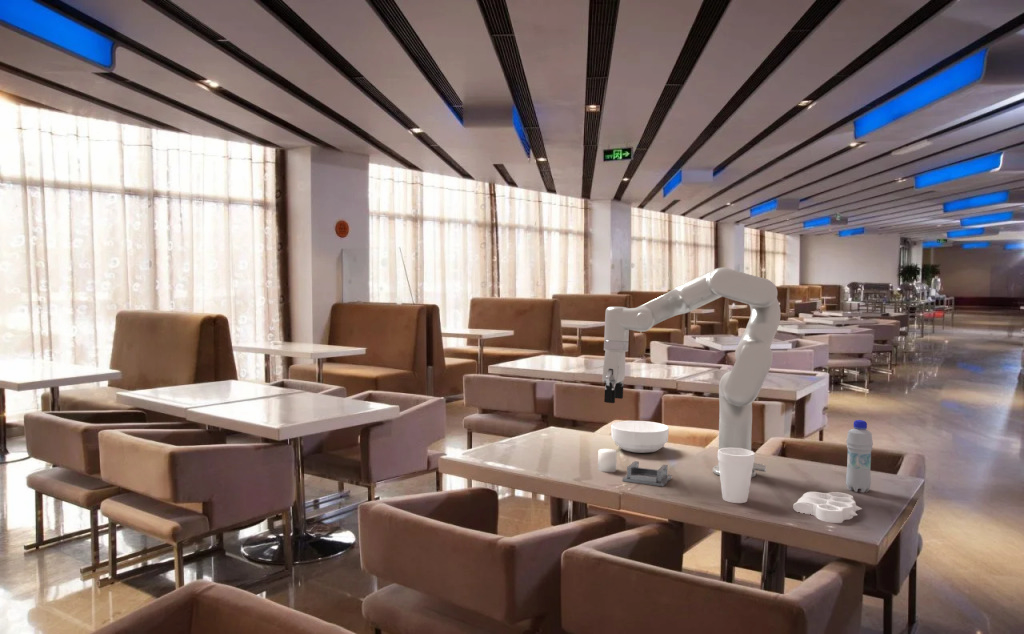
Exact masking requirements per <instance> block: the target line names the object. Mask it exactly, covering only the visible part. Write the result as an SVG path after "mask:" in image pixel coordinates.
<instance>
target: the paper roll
mask: <svg viewBox="0 0 1024 634" xmlns="http://www.w3.org/2000/svg"><path fill="white" fill-rule="evenodd" d="M597 451H598V452H597V453H598V454H597V457H598V458H597V471H599V472H603V473H614V472H617V450H616V449H614V448H600V449H598V450H597Z"/></svg>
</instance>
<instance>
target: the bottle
mask: <svg viewBox="0 0 1024 634" xmlns="http://www.w3.org/2000/svg"><path fill="white" fill-rule="evenodd" d="M845 443H846V448H847V459H846V460H847V461H846V463H847V464H846V465H847V466H846V476H845V484H846V487H847V489H848V490H849V491H851V492H852V491H854V492H855V493H857V492H858V491H859V489H860V492H861V493H867V492H869V491H870V489H871V486H872V476H871V463H872V450H873V445H874V442H873V434H872V432H871V431H869V430H868V424H867V421H866V420H864V419H863V420H862V419H856V420H854V421H853V428H852V429H849V430H848V431H847V437H846V442H845Z"/></svg>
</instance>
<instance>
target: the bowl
mask: <svg viewBox="0 0 1024 634" xmlns="http://www.w3.org/2000/svg"><path fill="white" fill-rule="evenodd" d="M610 427H611V428H610V430H611V431H610V433H611V440H612V441H614V443H615V445H616V446H618V447H619V448H621V450H623V451H627V452H630V453H631V452H632V453H641V454H642V453H643V454H645V453H654V452H657V451H658V450H661V448H663V447H664V446H665V444H667V443H668V441H669V431H670V429H669V426H668V425H666V424H664V423H660V422H655V421H648V420H647V421H645V420H623V421H616V422H613V423H612V424H611V425H610Z"/></svg>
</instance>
